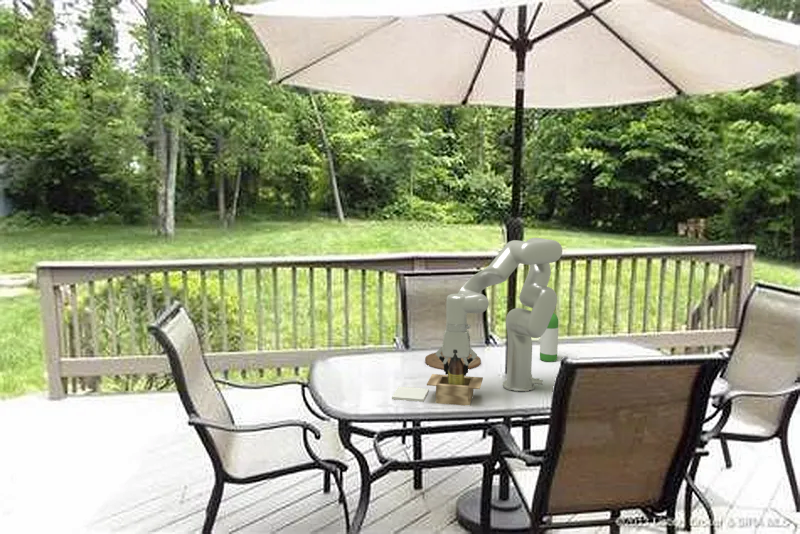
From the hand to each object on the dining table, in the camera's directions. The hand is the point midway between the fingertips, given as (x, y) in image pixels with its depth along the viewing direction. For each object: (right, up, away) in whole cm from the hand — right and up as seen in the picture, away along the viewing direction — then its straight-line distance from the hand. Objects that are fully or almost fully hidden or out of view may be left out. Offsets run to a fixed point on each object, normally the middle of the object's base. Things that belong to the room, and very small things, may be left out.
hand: (456, 373), depth 241 cm
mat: (-17, -9, +5) cm, 20 cm away
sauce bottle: (0, -10, +1) cm, 10 cm away
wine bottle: (+47, -3, +52) cm, 70 cm away
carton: (0, -10, +1) cm, 10 cm away
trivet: (+3, -3, +48) cm, 48 cm away
